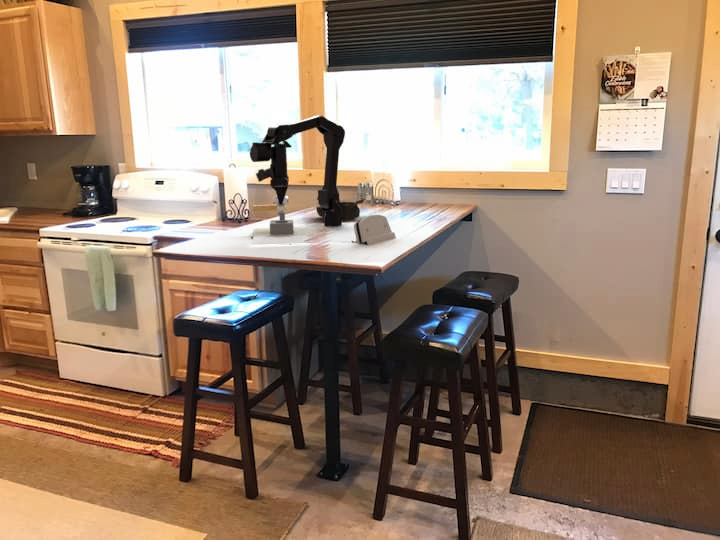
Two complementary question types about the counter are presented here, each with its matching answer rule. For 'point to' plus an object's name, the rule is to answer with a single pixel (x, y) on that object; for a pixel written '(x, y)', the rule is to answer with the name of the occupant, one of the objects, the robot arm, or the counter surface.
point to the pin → (280, 207)
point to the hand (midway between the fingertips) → (280, 203)
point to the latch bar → (264, 207)
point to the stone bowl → (350, 210)
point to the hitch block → (283, 229)
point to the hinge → (373, 230)
